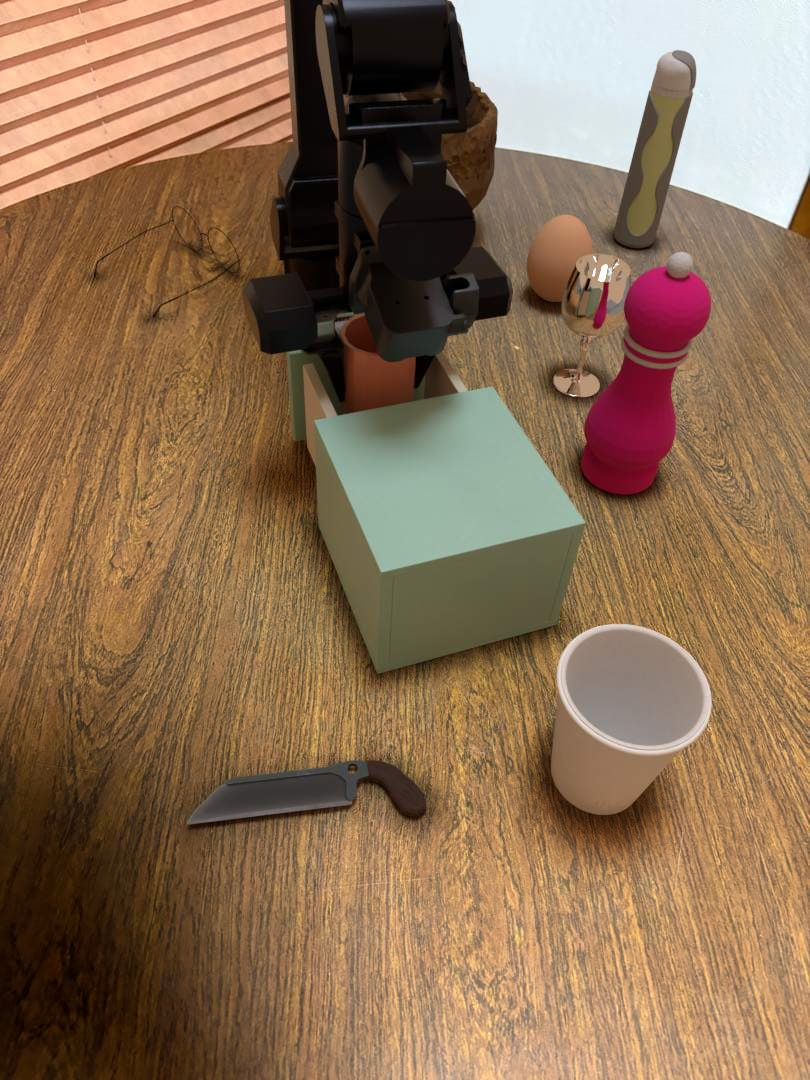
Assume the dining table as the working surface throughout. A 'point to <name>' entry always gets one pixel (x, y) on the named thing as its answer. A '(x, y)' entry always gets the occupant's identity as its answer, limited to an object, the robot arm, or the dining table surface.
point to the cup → (372, 371)
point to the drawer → (319, 399)
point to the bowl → (470, 144)
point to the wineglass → (592, 313)
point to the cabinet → (442, 525)
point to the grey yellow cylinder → (656, 150)
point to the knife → (306, 791)
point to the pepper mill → (645, 378)
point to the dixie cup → (623, 714)
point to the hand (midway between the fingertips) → (377, 392)
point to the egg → (556, 255)
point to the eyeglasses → (188, 246)
